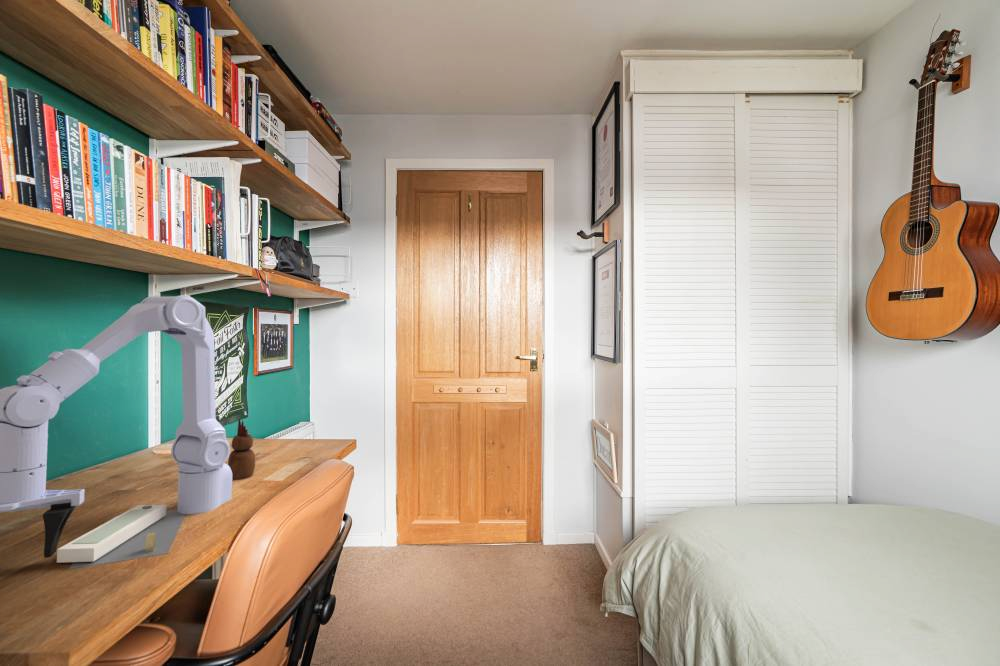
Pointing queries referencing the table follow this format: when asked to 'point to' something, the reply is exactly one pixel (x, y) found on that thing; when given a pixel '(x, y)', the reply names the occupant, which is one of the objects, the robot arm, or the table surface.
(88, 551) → the frame
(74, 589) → the table surface
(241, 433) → the wooden figurine
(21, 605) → the table surface
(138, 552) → the board
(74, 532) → the table surface
